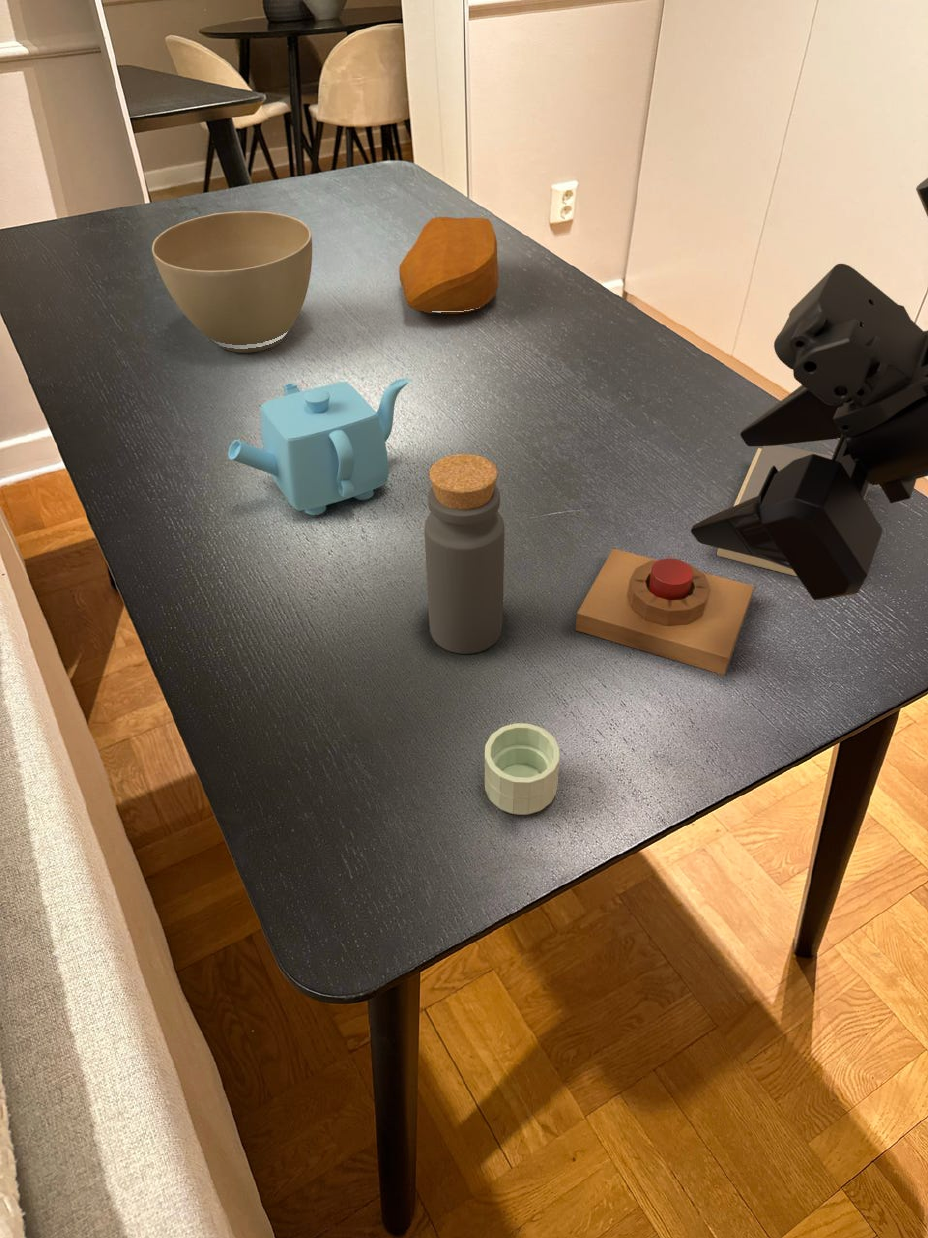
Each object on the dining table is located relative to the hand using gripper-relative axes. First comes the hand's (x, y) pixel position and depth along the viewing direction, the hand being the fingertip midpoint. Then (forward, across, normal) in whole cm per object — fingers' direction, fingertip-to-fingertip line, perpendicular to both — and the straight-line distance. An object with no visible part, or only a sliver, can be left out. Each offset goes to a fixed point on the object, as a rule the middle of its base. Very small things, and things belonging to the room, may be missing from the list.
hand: (720, 484), depth 53 cm
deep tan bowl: (+65, -29, -24) cm, 76 cm away
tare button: (+13, -5, +10) cm, 18 cm away
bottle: (+25, +4, +3) cm, 25 cm away
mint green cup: (+16, +16, +9) cm, 24 cm away
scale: (+12, -22, +19) cm, 31 cm away
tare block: (+15, -5, +13) cm, 21 cm away
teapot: (+43, -8, -9) cm, 45 cm away
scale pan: (+10, -23, +16) cm, 30 cm away
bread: (+55, -50, -12) cm, 76 cm away
